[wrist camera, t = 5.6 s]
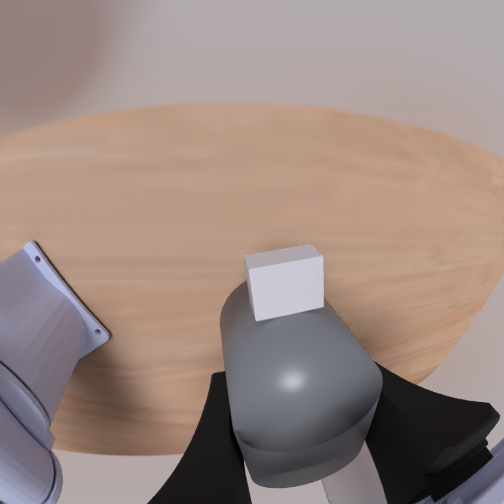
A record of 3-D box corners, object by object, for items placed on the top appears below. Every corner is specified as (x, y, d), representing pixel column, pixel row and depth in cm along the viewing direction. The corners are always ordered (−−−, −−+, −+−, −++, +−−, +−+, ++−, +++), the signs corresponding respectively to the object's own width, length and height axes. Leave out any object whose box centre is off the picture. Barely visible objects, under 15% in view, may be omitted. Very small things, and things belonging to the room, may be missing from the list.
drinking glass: (287, 404, 24) (335, 538, 10) (282, 355, 22) (349, 524, 8) (351, 385, 25) (418, 501, 11) (357, 335, 22) (455, 468, 8)
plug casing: (202, 241, 10) (200, 321, 5) (321, 222, 10) (403, 277, 6) (242, 416, 13) (258, 494, 9) (320, 398, 14) (353, 469, 9)
